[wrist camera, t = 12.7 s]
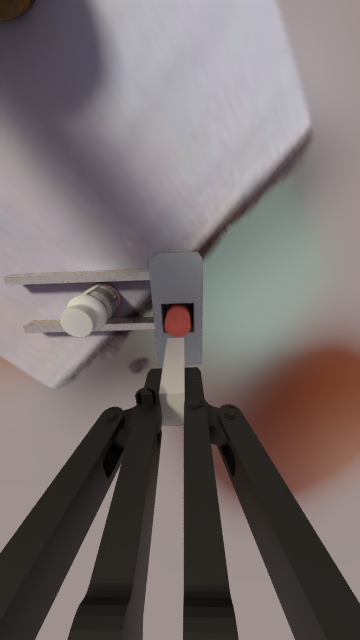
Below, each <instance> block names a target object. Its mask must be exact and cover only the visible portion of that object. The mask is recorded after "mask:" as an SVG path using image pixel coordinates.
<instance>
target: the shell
mask: <svg viewBox="0 0 360 640" xmlns="http://www.w3.org/2000/svg"><path fill="white" fill-rule="evenodd" d="M33 2H34V0H0V20H1V21H6V20H11V19H13V18H15V17H16V16H18V15H19V14H22V13H23V12H24V11H25V10H26V9H27V8H29V7H30V6H31V5H32V3H33Z"/></svg>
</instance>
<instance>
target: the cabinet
mask: <svg viewBox="0 0 360 640" xmlns="http://www.w3.org/2000/svg"><path fill="white" fill-rule="evenodd" d="M148 266H149V276H150V285H151V295H152V305H153V314H154V324H155V334H156V344H157V354H158V363H159V365H163V363H164V357H165V350H166V343H167V338H184V351H185V365H186V364H202V291H203V290H202V289H203V259H202V257H201V256H200V255H199V253H198V252H174V253H157V254H156V255H155V256H154V257H152V258H151V259H150V260H149V261H148ZM174 303H188V305H189V311H190V323H191V327H190V330H189V332H188V333H187V334H186V335H184V336H182V337H174V336H171V335H170V334H168V333H167V331H166V330H165V320H166V315H167V309H168V305H169V304H174Z"/></svg>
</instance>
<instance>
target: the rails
mask: <svg viewBox="0 0 360 640" xmlns="http://www.w3.org/2000/svg"><path fill="white" fill-rule="evenodd" d="M3 279H4V281H5V284H6V285H23V284H51V283H79V282H108V281H136V280H150V276H149V269H133V270H106V271H79V272H52V273H25V274H13V275H9V276H5V277H3ZM23 327H24V330H25V332H26V333H45V332H66V331H65V330H64V329H63V328H62V326H61V322H60V320H34V321H32V322H30V323H29V324H27V325H25V326H23ZM151 329H155V324H154V317H131V318H110V319H109V320H108V321H107V323H106V324H105V325H104V326H103V327H102V328H101V329H99V330H98V331H116V330H151Z"/></svg>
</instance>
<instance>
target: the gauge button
mask: <svg viewBox="0 0 360 640" xmlns="http://www.w3.org/2000/svg"><path fill="white" fill-rule="evenodd" d="M190 327H191V323H190V311H189V305H188V303H174V304H169V305H168V309H167V315H166V320H165V330H166V331H167V333H168V334H170V335H171V336H174V337H182V336H184V335H186V334H187V333H188V332H189V330H190Z"/></svg>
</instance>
